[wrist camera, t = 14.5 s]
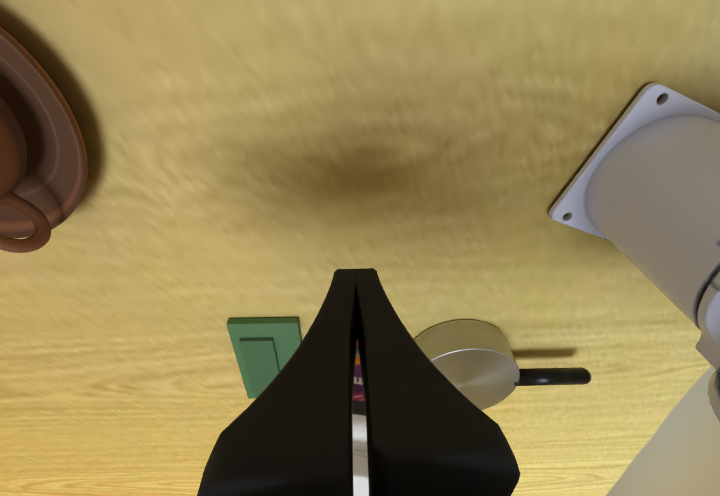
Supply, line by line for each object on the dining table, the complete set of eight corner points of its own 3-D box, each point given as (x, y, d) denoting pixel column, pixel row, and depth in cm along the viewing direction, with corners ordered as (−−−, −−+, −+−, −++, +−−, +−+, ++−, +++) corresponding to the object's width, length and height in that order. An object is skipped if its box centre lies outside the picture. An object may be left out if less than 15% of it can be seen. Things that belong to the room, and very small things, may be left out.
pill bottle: (395, 344, 29) (413, 482, 21) (362, 382, 31) (367, 517, 24) (331, 323, 27) (324, 463, 19) (302, 365, 30) (287, 503, 22)
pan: (402, 385, 32) (406, 417, 30) (409, 320, 27) (415, 351, 25) (559, 382, 32) (575, 412, 30) (593, 316, 28) (615, 346, 25)
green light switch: (298, 316, 27) (297, 326, 26) (308, 391, 32) (307, 401, 31) (228, 318, 27) (224, 328, 26) (249, 392, 32) (247, 402, 31)
